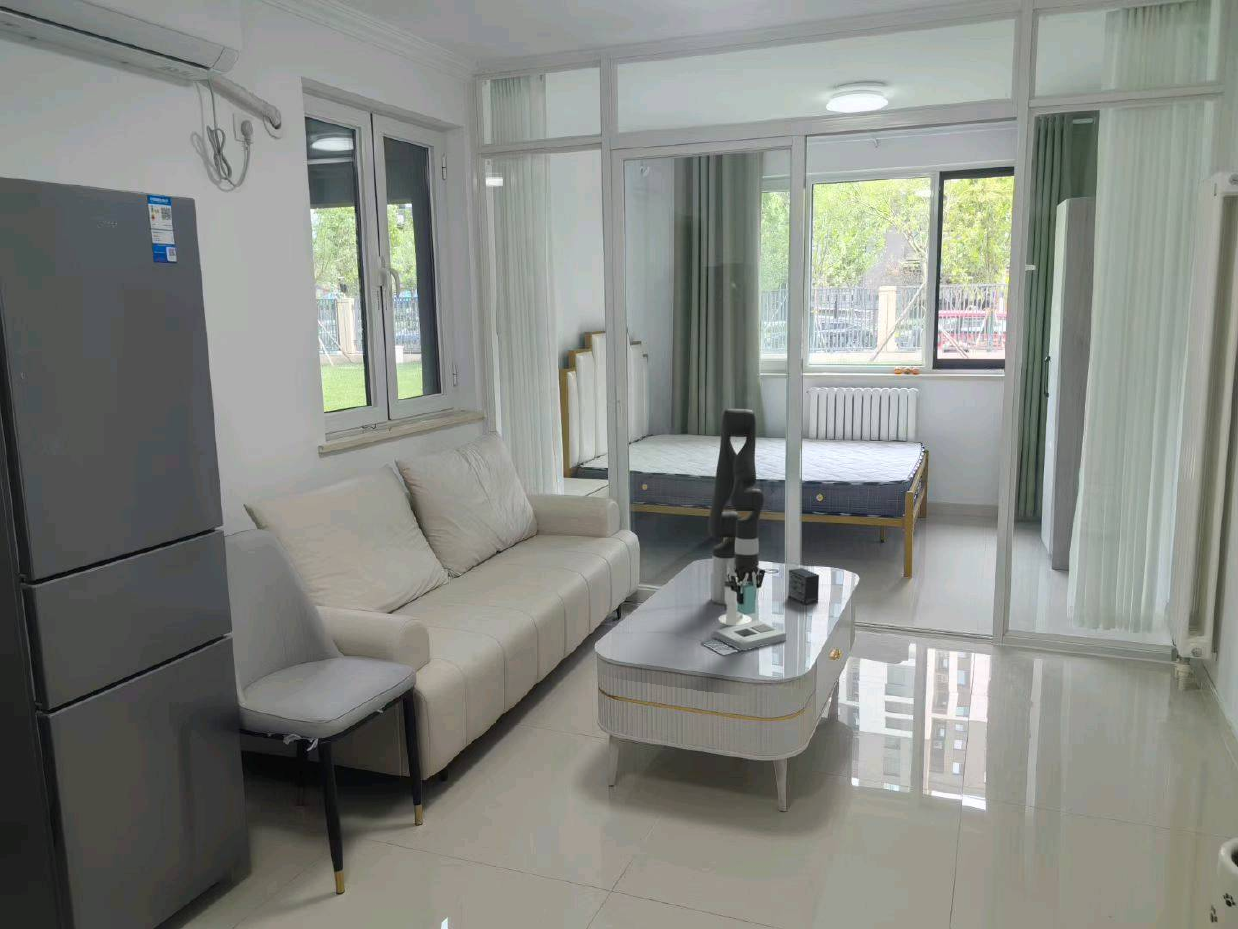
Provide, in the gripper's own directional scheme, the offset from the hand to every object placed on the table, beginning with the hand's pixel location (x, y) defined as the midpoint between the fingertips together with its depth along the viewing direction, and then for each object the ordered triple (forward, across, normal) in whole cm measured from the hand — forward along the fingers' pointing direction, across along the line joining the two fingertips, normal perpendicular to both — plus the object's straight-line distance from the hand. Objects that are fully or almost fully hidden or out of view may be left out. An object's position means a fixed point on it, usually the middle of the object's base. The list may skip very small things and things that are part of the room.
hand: (746, 602), depth 298 cm
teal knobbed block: (+3, 0, 0) cm, 3 cm away
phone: (+13, +11, +1) cm, 17 cm away
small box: (+13, -43, -21) cm, 50 cm away
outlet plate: (+13, -2, 0) cm, 13 cm away
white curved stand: (+13, -9, -17) cm, 23 cm away
